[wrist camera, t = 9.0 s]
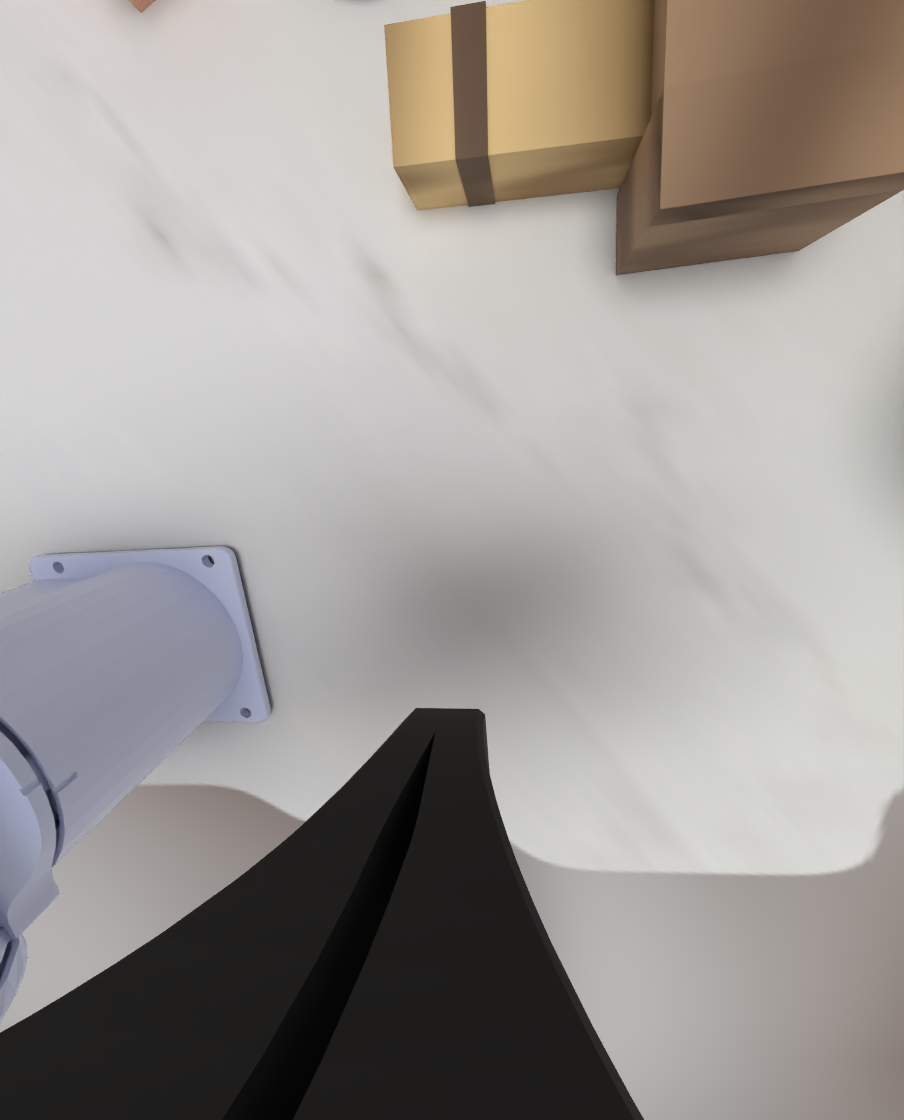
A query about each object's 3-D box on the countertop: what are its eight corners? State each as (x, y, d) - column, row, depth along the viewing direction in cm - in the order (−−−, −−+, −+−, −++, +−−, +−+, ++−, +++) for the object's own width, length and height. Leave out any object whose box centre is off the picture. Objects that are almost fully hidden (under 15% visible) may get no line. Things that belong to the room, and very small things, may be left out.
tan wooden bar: (417, 212, 15) (392, 167, 12) (411, 96, 14) (383, 18, 11) (933, 155, 13) (1047, 84, 10) (964, 13, 12) (1097, -106, 9)
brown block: (616, 274, 14) (659, 209, 10) (620, -102, 12) (682, -436, 7) (798, 250, 14) (944, 165, 9) (844, -161, 11) (1079, -582, 6)
